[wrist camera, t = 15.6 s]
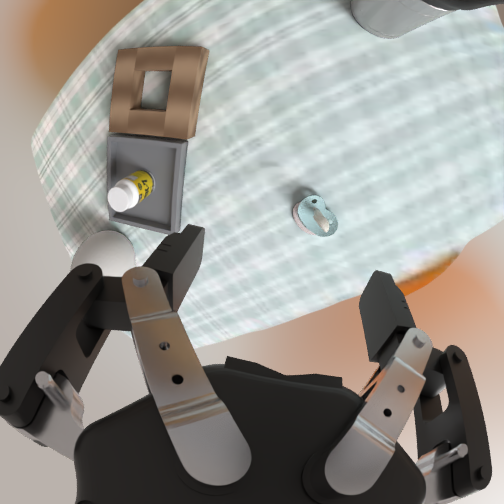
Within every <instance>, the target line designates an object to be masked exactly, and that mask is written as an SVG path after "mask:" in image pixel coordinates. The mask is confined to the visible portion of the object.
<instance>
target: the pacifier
mask: <svg viewBox="0 0 504 504" xmlns="http://www.w3.org/2000/svg"><path fill="white" fill-rule="evenodd" d="M313 199H316V200H317V202H316V203H312V200H313ZM293 217H294V219H295V222H296V223H297V225H298V226H299V227H300V228H301V229H302V230H303V231H305V232H306V233H308V234H312V235H318V236H323V237H324V236H330V235H332V234H334V233H335V231H336V230H337V227H338V222H337V219H336V217H335V215H334V214H333V213H332V212H330V211H329V210H327V209H326V208H325V202H324V200H323V199H322V198H321V197H320V196H317V195H311V196H308V197H306V198H305V199H303V200H302V201H301V202H299V203H297V204H296V205H295V206H294V208H293ZM299 217H300V218H299ZM300 219H301V220H300ZM329 219H330V220H332V221H333V223H332V224H329V222H328V220H329ZM302 222H303V223H302Z"/></svg>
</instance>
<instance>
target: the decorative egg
mask: <svg viewBox="0 0 504 504" xmlns="http://www.w3.org/2000/svg"><path fill="white" fill-rule="evenodd" d="M85 263H92V264H96V265H98V266H99V267H100V268H101V269H102V273H103V276H115V277H122V276H123V274H124V273H125V272H126V271H127V270H129V269H131V268H134V267H135V264H136V256H135V251H134V248H133V245H132V244H131V242H130V241H129V240H128V238H126V237H125V236H124V235H123V234H121V233H119V232H116V231H110V230H106V231H100V232H97V233H95V234H93V235H91V236H90V237H88V238H87V239H86V240H85V241H84V242H83V243H82V244H81V245H80V247H79V248H78V250H77V251H76V253H75V255H74V258H73V261H72V265H71V270H72V269H74V268H75V267H76V266H78V265H81V264H85ZM71 270H70V272H71Z"/></svg>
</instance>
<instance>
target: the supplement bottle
mask: <svg viewBox="0 0 504 504" xmlns="http://www.w3.org/2000/svg"><path fill="white" fill-rule="evenodd" d="M154 188H155V179H154V177H153V175H152V174H151V173H150V172H149V171H147V170H138V171H136V172H134V173H132V174H130V175H129V176H127V177H125V178H123V179H122V180H120V181H118V182H117V183H116V185H115V186H114V187H113V188H111V189H110V191H109V193H108V202H109V204H110V206H111V207H112V208H113V209H114V210H115V211H118V212H123V211H125V210H126V209H128V208H132V207H134V206H136V205H137V204H138V203H139V202H141V201H142V200H143V199H145V198H146V197H147V196H149V195H150V194H151V193H152V192H153V191H154Z"/></svg>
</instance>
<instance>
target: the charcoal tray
mask: <svg viewBox="0 0 504 504" xmlns="http://www.w3.org/2000/svg"><path fill="white" fill-rule="evenodd" d="M187 146H188V141H182V140H174V139H166V138H158V137H148V136H138V135H126V134H114V135H111V136H108V141H107V187H108V193H109V191H110V189H111V188H113V187H114V186H115V185H116V183H117V182H118V181H120V180H122V179H123V178H125V177H127V176H129V175H130V174H132V173H134V172H136V171H138V170H147V171H149V172H150V173H151V174H152V175H153V177H154V179H155V188H154V191H153V192H152V193H151V194H150V195H149V196H147V197H146V198H145V199H143V200H142V201H141V202H139V203H138V204H137V205H136V206H134V207H132V208H128V209H126V210H125V211H123V212H118V211H115V210H114V209H113V208H112V207H111V206H110V204H109V202H108V209H109V220H111V221H115V222H119V223H123V224H127V225H131V226H135V227H139V228H143V229H147V230H151V231H156V232H160V233H164V234H168V235H170V234H172V233H174V232H177V233H178V232H179V230H180V223H181V208H182V196H183V184H184V174H185V164H186V155H187Z"/></svg>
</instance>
